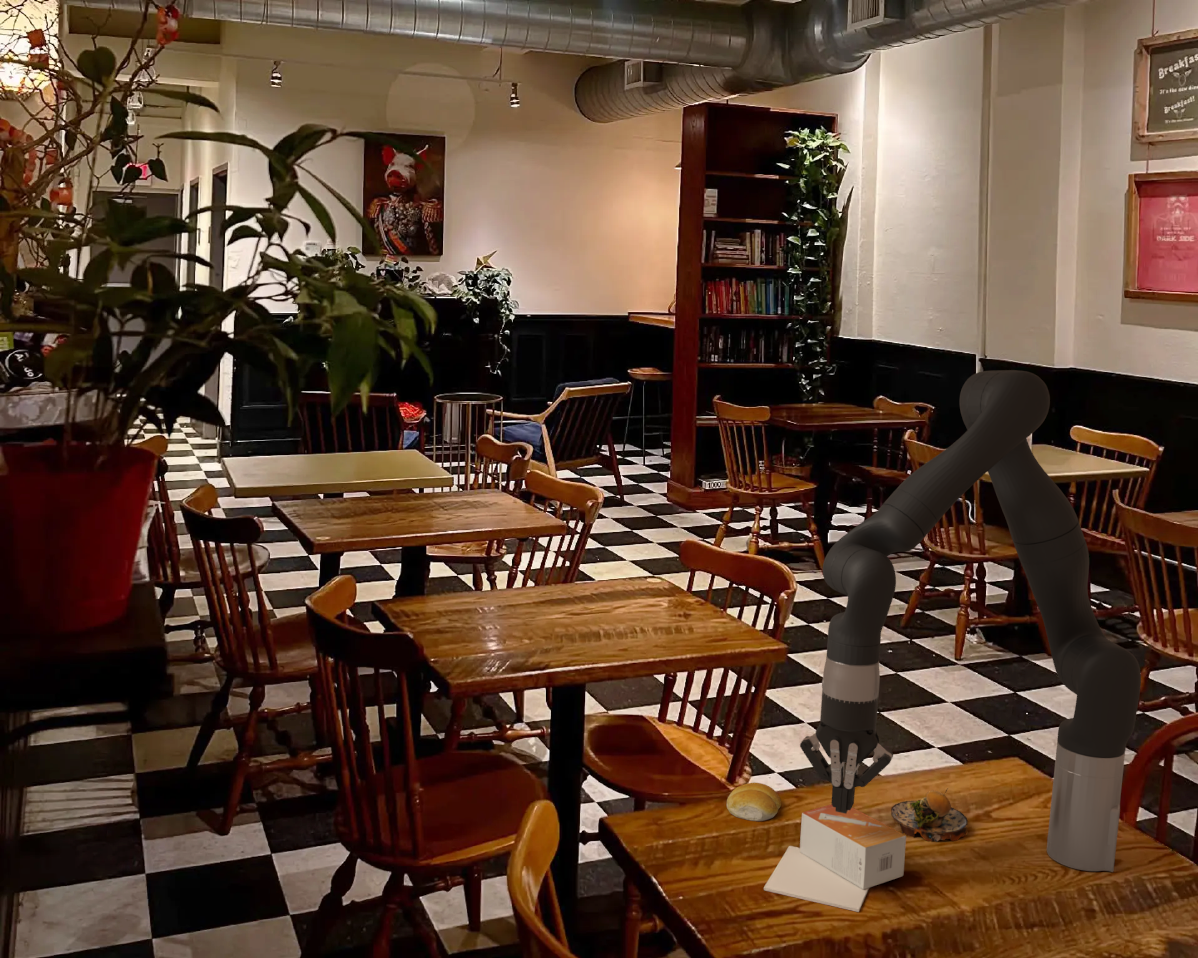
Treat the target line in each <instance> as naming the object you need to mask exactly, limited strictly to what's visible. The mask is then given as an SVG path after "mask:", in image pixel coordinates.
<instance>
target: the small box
mask: <svg viewBox="0 0 1198 958" xmlns="http://www.w3.org/2000/svg"><path fill="white" fill-rule="evenodd" d="M799 840H800V841H799V842H800V843H799V848H800V852H801V853H802V854H804V855H806V856H807V857H809V858H811V859H813V860H814V861H816V862H818V863H819V864H821V865H823V866H824V867H826V868H828V869H829V870H831V871H833V872H835V873H836V874H838V875H840V876H841V877H843V878H845V879H846V880H848V881H850V882H851V883H853V884H855V885H856V886H858V887H860V888H861V889H866V888H869V889H870V888H872V887H875V886H877V885H881V884H884V883H887V882H889V881H892V880H895V879H898V878H901V877H903V876H904V872H905V858H906V857H905V856H906V843H907V836H906V834H905V833H903V834H902V832H900V831H899V830H896V829H895V828H893V827H890V826H889V825H886V823H883V822H881V821H880V820H877V819H876V818H873V817H871V816H869V815H867V814H866V813H864V812H862V811H861V810H859V809H856V808H854V807H852V808H851V810H848V811H847V813H846V814H845V813H840V812H836V807H833V806H832V803H831V804H828V805H825V806H821V807H817V808H814V809H810V810H806V811H803V812H802V813H801V825H800V839H799Z"/></svg>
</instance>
